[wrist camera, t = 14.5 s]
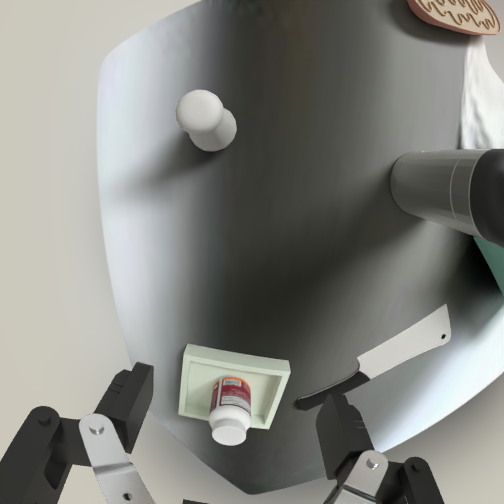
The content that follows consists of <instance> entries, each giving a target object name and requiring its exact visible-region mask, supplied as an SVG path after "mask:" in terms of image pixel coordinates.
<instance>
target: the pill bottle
mask: <svg viewBox="0 0 504 504" xmlns="http://www.w3.org/2000/svg"><path fill="white" fill-rule="evenodd" d="M209 423H210V426H211V427H212V428H213V430H212V436H213V438H214V440H216V441H217V442H218V443H221V444H224V445H237V444H240V443H242V442H243V441H244V440H245V438H246V430H247V429H248V428H249V427H250V425H251V390H250V386H249V384H248V382H247V381H246V380H245V379H243V378H241V377H239V376H234V375H227V376H223V377H221V378H219V379H218V380H217V381H216V382H215V384H214V386H213V392H212V399H211V406H210V413H209Z"/></svg>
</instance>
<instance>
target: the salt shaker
mask: <svg viewBox="0 0 504 504" xmlns="http://www.w3.org/2000/svg"><path fill="white" fill-rule="evenodd" d="M176 120H177V122H178V124H179V125H180V127H181V128H182V130H184V131H186V132H188V133H189V136H190V138H191V140H192V141H193V143H194V144H195V145H196V146H197V147H199V148H201V149H202V150H204V151H218V150H220V149H223V148H226V147H227V146H228V145H229V144H230V143H231V142H232V141H233V139H234V136H235V134H236V131H237V128H236V120H235V119H234V117H233V116H232V114H231V113H230V111H228V110H226V109H224V108H223V105H222V103H221V101H220V100H219V98H218V97H217V96H216V95H215V94H213V93H211V92H209V91H207V90H195V91H192V92H190V93H187V94H186V95H185V96H184V97H183V98H182V99H181V100H180V101H179V103H178V105H177V108H176Z"/></svg>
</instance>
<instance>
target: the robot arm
mask: <svg viewBox="0 0 504 504" xmlns="http://www.w3.org/2000/svg"><path fill="white" fill-rule="evenodd" d="M390 188H391V193H392V196H393V198H394V200H395V202H396V204H397V205H398V206H399V207H400V208H401V209H402V210H403V211H405V212H406V213H408V214H412V215H415V216H418V217H421V218H423V219H427V220H430V221H433V222H436V223H439V224H442V225H444V226H447V227H450V228H453V229H456V230H459V231H462V232H464V233H467V234H470V235H473V236H476V237H478V238H481V239H483V240H486V241H489V242H491V243H494V244H496V245H498V246H500V247H502V248H504V149H465V150H441V151H423V152H412V153H407V154H405V155H403V156H402V157H400V158H399V159H398V160H397V162H396V163H395V165H394V167H393V169H392V172H391V177H390ZM153 371H154V369H153V366H151V365H147V364H143V363H140V362H137V363H136V364H135V366H134V368H133V369H132V371H128V370H122V371H121V372H120V373H118V374H117V375H115V377H114V379H113V380H112V382H111V384H110V386H109V387H108V390H107V391H106V392H105V394H104V396H103V397H102V400H101V401H100V403H99V404H98V406H97V408H96V410H95V411H94V413H93V414H89V415H86V416H84V417H83V418H82V419H80V420H76V419H68V418H61V417H59V414H58V413H57V412H56V411H55V410H54V409H52V408H51V407H47V406H40V407H36V408H35V409H33V410H32V411H31V412H30V414H29V415H28V417H27V418H26V420H25V421H24V423H23V424H22V426H21V428H20V429H19V431H18V432H17V434H16V436H15V437H14V439H13V441H12V442H11V444H10V446H9V447H8V449H7V451H6V453H5V454H4V456H3V458H2V460H1V461H0V504H57V503H58V500H59V498H60V495H61V492H62V490H63V487H64V484H65V482H66V479H67V477H68V474H69V472H70V469H71V467H72V464H74V465H81V466H90V467H93V470H94V473H95V476H96V478H97V481H98V483H99V485H100V488H101V490H102V492H103V494H104V497H105V499H106V501H107V503H108V504H155V502H154V500H153V499H152V497H151V495H150V493H149V492H148V490H147V488H146V487H145V485H144V483H143V481H142V479H141V477H140V476H139V474H138V472H137V470H136V468H135V467H134V465H133V464H132V463H131V462H130V461H129V459H128V457H127V455H126V453H129V454H131V452H132V450H133V447H134V444H135V442H136V439H137V436H138V434H139V431H140V429H141V426H142V424H143V421H144V418H145V416H146V413H147V411H148V408H149V405H150V403H151V400H152V396H153ZM316 429H317V434H318V438H319V442H320V447H321V451H322V456H323V460H324V465H325V469H326V474H327V478H328V480H332V479H337V485H336V486H335V487H334V489H333V490H332V492H331V493H330V495H329V496H328V497H327V499H326V500H325V502H324V503H323V504H375V503H376V504H407V503H408V504H444V501H443V499H442V496H441V494H440V491H439V489H438V487H437V484H436V482H435V479H434V477H433V475H432V472H431V470H430V467H429V465H428V463H427V462H426V461H425V460H423V459H422V458H419V457H411V458H409V459H407V460H406V461H405V462H404V463H396V462H390V461H388V460H387V458H386V457H385V456H384V455H383V454H382V453H380V452H378V451H375V450H374V447H373V445H372V442H371V439H370V437H369V434H368V432H367V429H366V428H365V424H364V422H363V419H362V417H361V414H360V412H359V411H358V410H357V409H356V408H355V407H354V406H353V405H349V404H348V401H347V399H346V396H345V395H338V394H329V395H328V396H327V397H326V399H325V401H324V403H323V405H322V407H321V409H320V411H319V413H318V415H317V419H316ZM125 452H126V453H125ZM405 496H406V498H405ZM406 499H407V501H406ZM183 504H207V503H201V502H195V501H189V500H183Z"/></svg>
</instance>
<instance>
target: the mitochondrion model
mask: <svg viewBox="0 0 504 504" xmlns="http://www.w3.org/2000/svg"><path fill="white" fill-rule="evenodd" d="M407 2H408V5H409V7H410V8H411V10H412V11H413V12H414V13H415V14H416V16H418V17H419V18H420V19H422V20H423V21H425V22H427V23H429V24H432V25H436V26H440V27H443V28H446V29H450V30H453V31H456V32H461V33H466V34H473V35H496V34H499V33H500V31H501V26H500V22H499V19H498V17H497V15H496V14H495V12H494V10H493V9H492V8H491V7H490V5H489V4H488V3H487V2H486V1H485V0H407Z"/></svg>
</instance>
